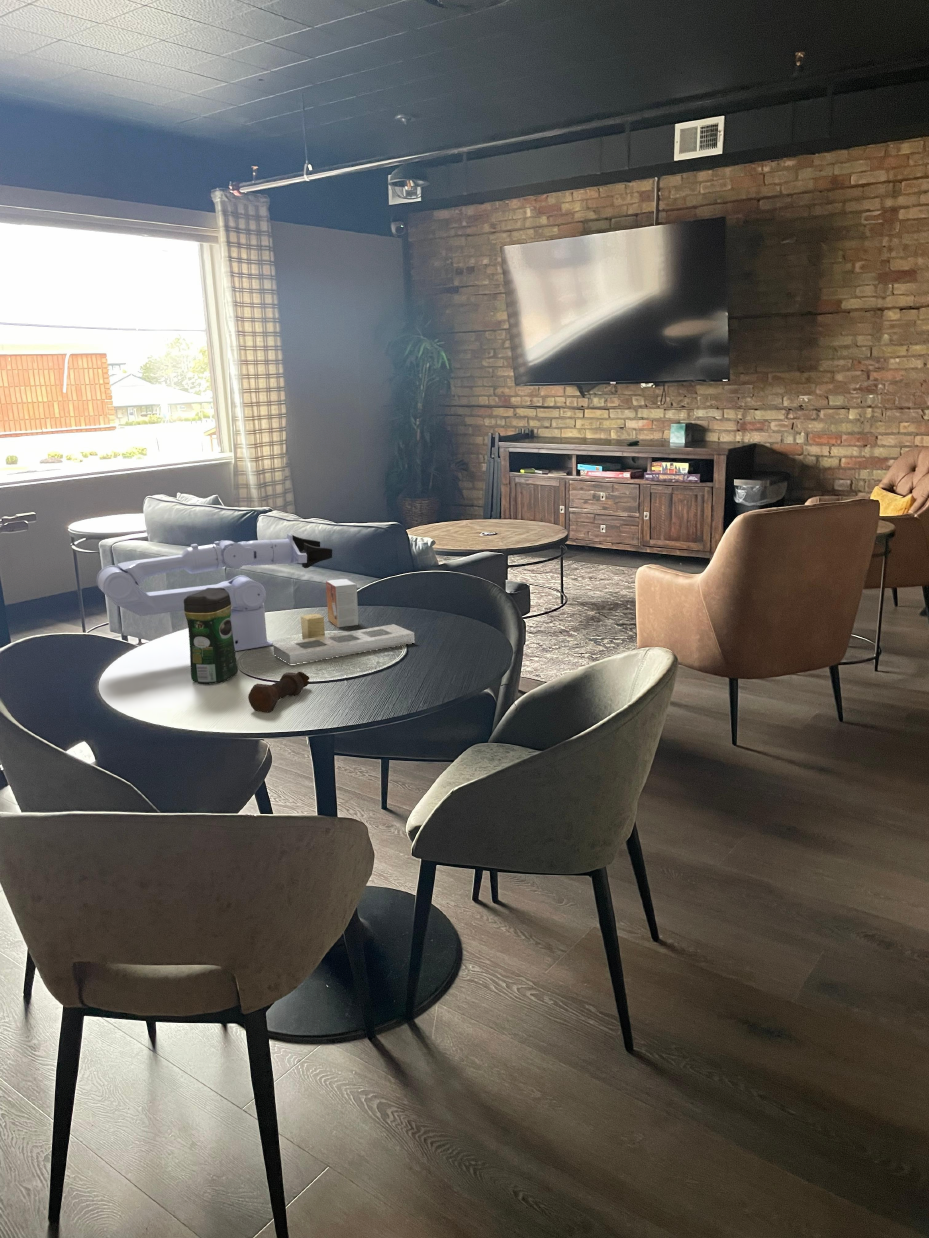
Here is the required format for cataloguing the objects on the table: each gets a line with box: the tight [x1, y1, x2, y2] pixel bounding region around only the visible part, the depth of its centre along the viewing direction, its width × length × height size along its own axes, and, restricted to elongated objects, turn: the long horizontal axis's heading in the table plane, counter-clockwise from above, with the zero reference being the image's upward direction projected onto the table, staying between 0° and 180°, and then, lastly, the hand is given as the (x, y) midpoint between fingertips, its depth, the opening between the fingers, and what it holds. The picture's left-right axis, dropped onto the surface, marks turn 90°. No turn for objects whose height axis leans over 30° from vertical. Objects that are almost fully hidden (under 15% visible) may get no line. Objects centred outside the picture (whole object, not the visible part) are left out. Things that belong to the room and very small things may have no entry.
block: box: [300, 613, 326, 640], centre depth 213 cm, size 4×4×6 cm
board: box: [272, 623, 415, 664], centre depth 205 cm, size 30×10×2 cm, turn 122°
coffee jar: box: [183, 588, 239, 686], centre depth 184 cm, size 10×8×19 cm
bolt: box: [247, 671, 310, 714], centre depth 172 cm, size 6×5×15 cm
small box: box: [325, 578, 359, 628], centre depth 229 cm, size 8×6×10 cm
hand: (325, 549), depth 216 cm, fingers open, 7 cm apart
